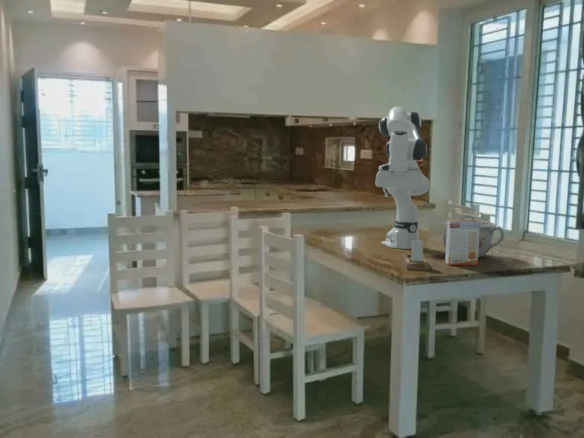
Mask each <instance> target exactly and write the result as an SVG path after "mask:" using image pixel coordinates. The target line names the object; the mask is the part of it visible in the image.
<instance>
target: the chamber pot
mask: <svg viewBox="0 0 584 438" xmlns="http://www.w3.org/2000/svg"><path fill="white" fill-rule="evenodd" d="M447 220H477V221H480V229H479V249H478V258H482V257H484V256H485V255H487V253H488V252H490V251H491V250H492V248H494V247H496V246H498V245H499V244H500V243H502V242H503V241H504V239H505V231H504V229H503V228H502V227H501V226H499V225H498V226H497V224H496V223H494V222H491V221H487V220H482V219H477V218H475V217H474V216H472V215H469V214H468V215H463V216H462V217H460V218H449V219H443V220H441V221H439V223H440V224H441V225H443V226H444V228H443V230H441V231H442V232H441V238H442V239H441V241H442V245H443V246H444V248H445V249H446V231H447ZM495 231H498V232H500V237H499V239H498V240H497V242H495V243H493V244H492V241H493V237H494V232H495Z"/></svg>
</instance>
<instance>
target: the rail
mask: <svg viewBox="0 0 584 438" xmlns="http://www.w3.org/2000/svg"><path fill="white" fill-rule="evenodd" d="M401 261H402V263H403V265H404V267H405V270H408V271H409V270H410V271H411V270H413V271H415V270H416V271H430V267H431V266H430V265H431V264H430V263H429V262H428V260H427V259H426V257H425V255H423V258H422V263H418V262H411V253H401Z"/></svg>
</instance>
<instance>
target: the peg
mask: <svg viewBox="0 0 584 438" xmlns="http://www.w3.org/2000/svg"><path fill="white" fill-rule="evenodd" d="M423 253H424V241H423V240H420V239H419V240H412V249H411V252H410V254H411V262H418V263H422V258H423V256H424V254H423Z"/></svg>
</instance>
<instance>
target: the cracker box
mask: <svg viewBox="0 0 584 438" xmlns="http://www.w3.org/2000/svg"><path fill="white" fill-rule="evenodd" d="M446 220H447V219H446ZM477 220H478V219H477ZM477 220H447V231H446V248H445V260H444V263H445V264H446V265H448V266H478V265H479V257H478V249H479V229H480V221H477Z"/></svg>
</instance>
